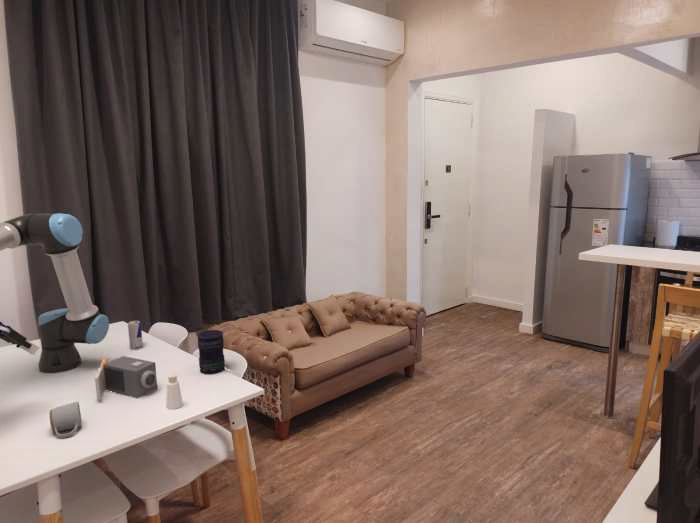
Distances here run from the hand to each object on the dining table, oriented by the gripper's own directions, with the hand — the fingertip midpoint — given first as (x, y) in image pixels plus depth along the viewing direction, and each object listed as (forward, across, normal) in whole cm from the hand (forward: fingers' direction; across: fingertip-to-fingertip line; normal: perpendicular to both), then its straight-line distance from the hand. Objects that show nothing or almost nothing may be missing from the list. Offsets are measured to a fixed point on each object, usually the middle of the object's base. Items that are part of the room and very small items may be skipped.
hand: (35, 350), depth 167 cm
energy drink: (+53, -16, +25) cm, 61 cm away
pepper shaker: (+28, +40, -1) cm, 49 cm away
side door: (+26, +8, -1) cm, 27 cm away
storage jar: (+49, +32, +20) cm, 62 cm away
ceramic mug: (+10, +22, -19) cm, 31 cm away
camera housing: (+30, +18, +2) cm, 35 cm away
